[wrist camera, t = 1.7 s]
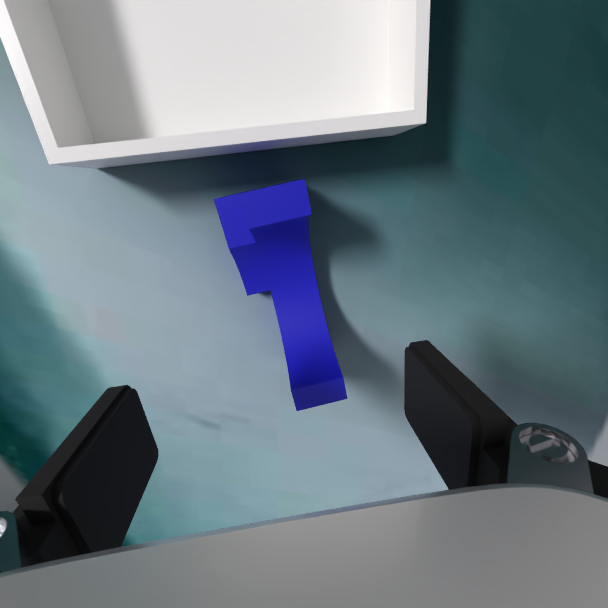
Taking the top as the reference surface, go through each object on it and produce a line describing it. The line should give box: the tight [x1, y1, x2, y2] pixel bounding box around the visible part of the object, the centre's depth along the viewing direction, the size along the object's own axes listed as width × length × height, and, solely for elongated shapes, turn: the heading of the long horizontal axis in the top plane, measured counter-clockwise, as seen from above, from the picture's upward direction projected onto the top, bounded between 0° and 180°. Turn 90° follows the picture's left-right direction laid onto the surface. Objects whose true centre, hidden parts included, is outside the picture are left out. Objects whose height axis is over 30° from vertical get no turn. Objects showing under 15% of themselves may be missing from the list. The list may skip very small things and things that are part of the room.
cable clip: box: [214, 179, 347, 411], centre depth 18 cm, size 12×4×6 cm, turn 12°
